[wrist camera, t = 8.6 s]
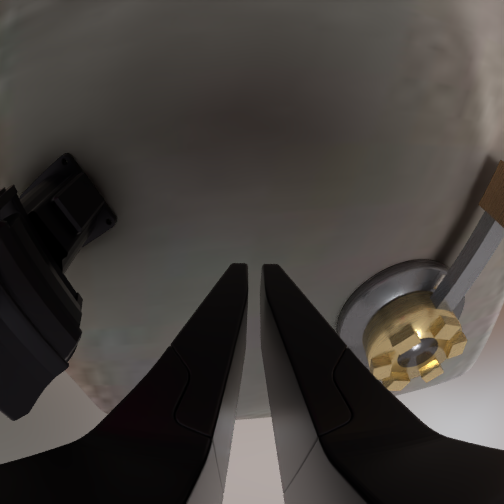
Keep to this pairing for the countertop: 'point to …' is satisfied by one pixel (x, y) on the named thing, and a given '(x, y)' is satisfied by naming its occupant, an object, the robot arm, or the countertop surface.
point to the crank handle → (433, 307)
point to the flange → (387, 298)
